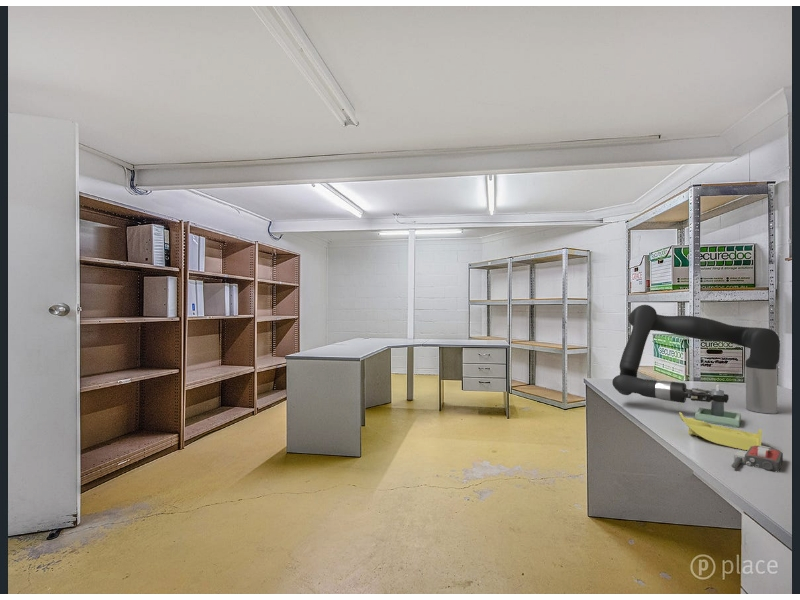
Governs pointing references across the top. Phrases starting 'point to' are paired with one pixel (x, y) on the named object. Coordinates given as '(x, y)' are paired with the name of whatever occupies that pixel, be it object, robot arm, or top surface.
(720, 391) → the grey bottle white cap
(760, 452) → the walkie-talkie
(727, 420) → the tray
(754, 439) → the plastic component
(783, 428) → the top surface
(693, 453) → the top surface
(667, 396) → the robot arm
